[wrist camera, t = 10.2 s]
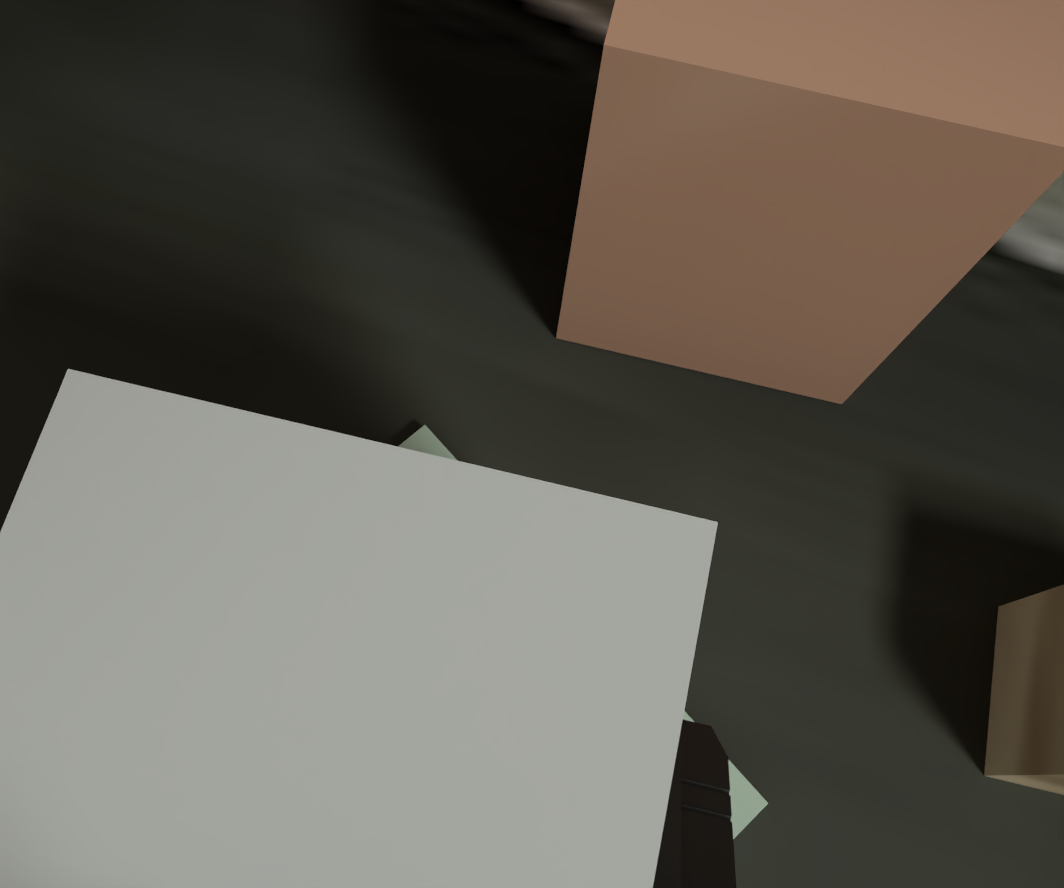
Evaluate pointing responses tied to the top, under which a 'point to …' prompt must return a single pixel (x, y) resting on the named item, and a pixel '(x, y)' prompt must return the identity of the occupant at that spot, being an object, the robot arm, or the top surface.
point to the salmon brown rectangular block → (804, 176)
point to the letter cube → (1028, 693)
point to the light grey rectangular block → (328, 660)
